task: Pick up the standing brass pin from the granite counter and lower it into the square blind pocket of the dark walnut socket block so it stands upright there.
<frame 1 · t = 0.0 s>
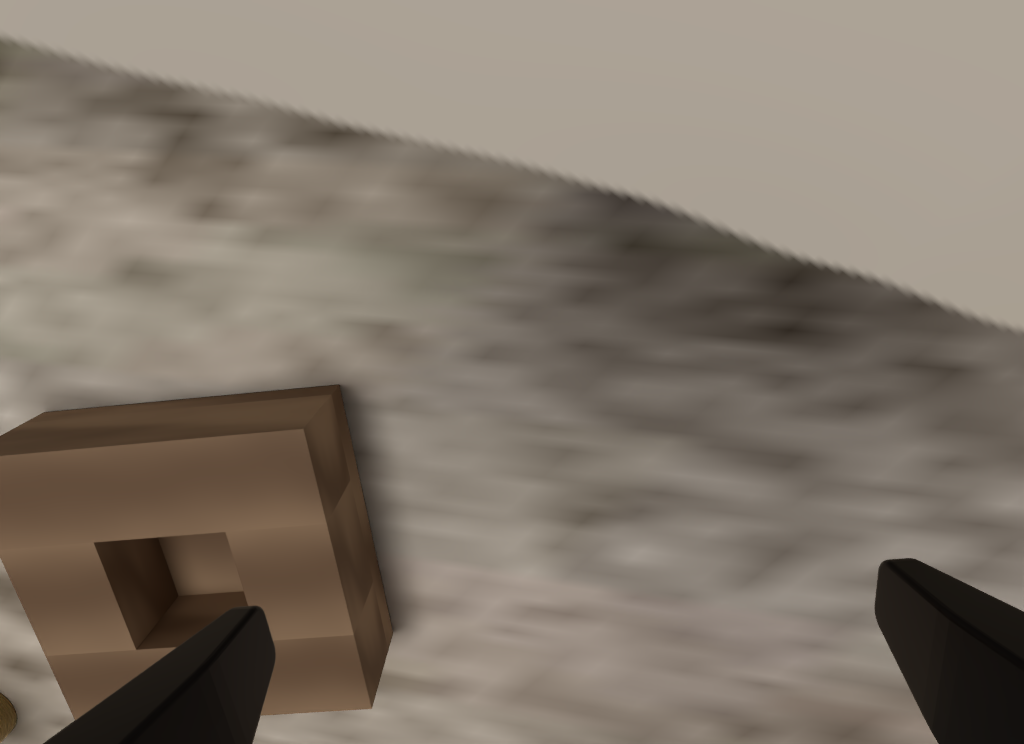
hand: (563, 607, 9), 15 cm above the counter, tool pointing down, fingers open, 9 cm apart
walnut socket block: (229, 529, 26), on the counter
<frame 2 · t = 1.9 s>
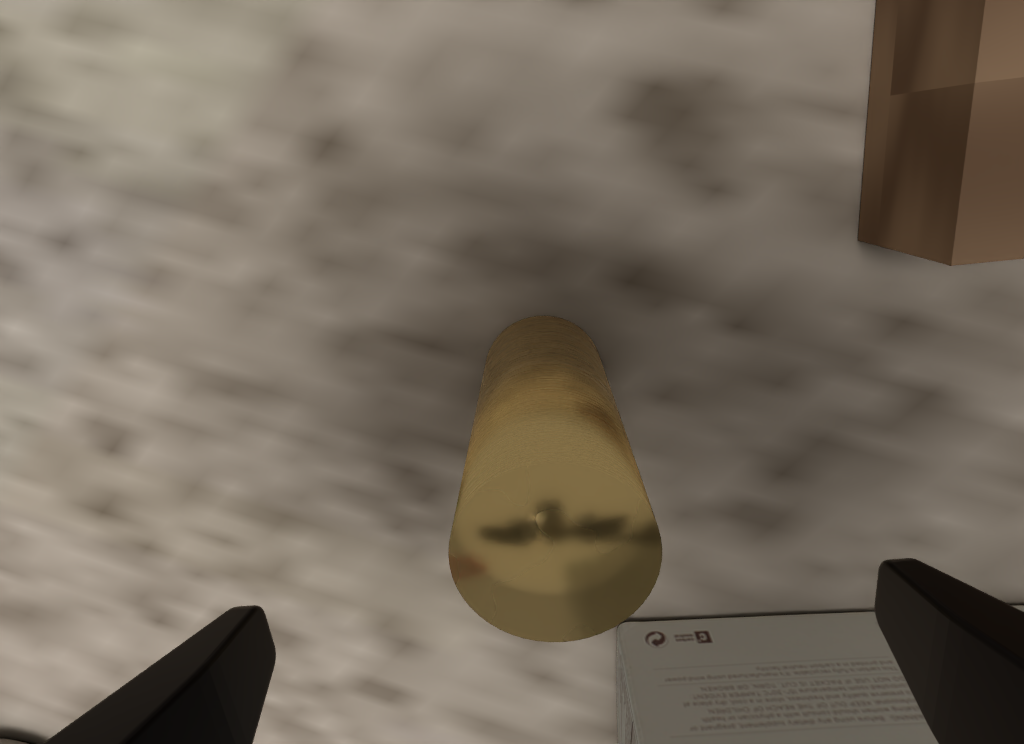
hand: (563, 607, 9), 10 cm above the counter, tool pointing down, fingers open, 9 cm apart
brass pin: (542, 372, 19), on the counter
supplement box: (842, 737, 24), on the counter
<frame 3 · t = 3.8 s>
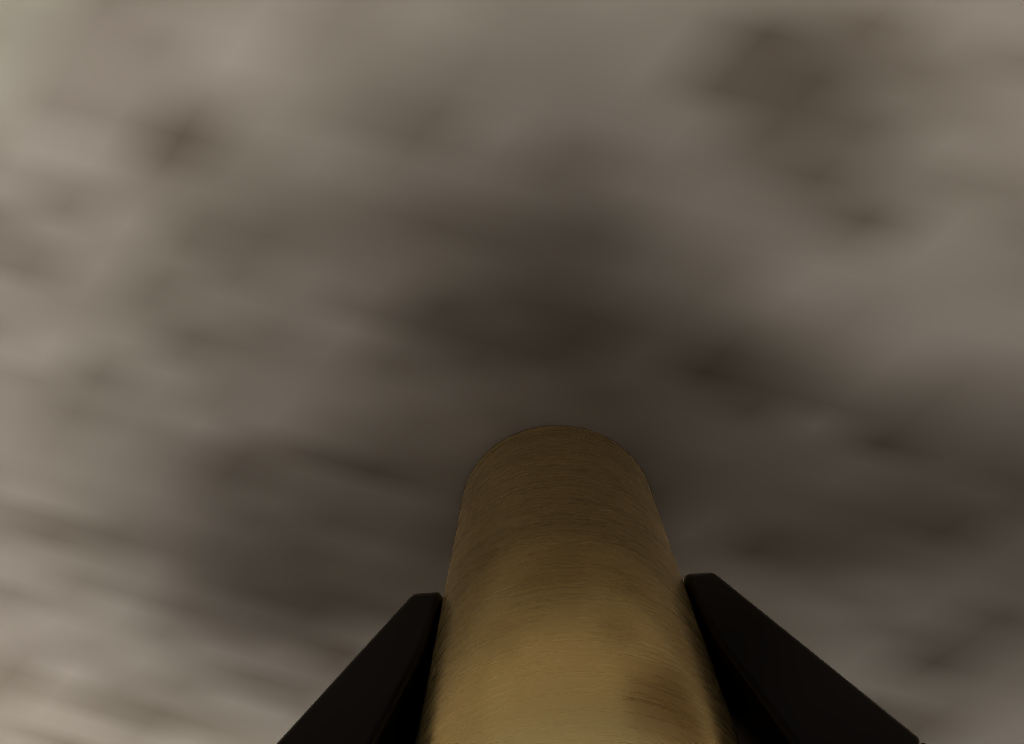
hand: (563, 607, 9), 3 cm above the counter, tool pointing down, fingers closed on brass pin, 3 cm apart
brass pin: (556, 511, 11), on the counter, touching gripper
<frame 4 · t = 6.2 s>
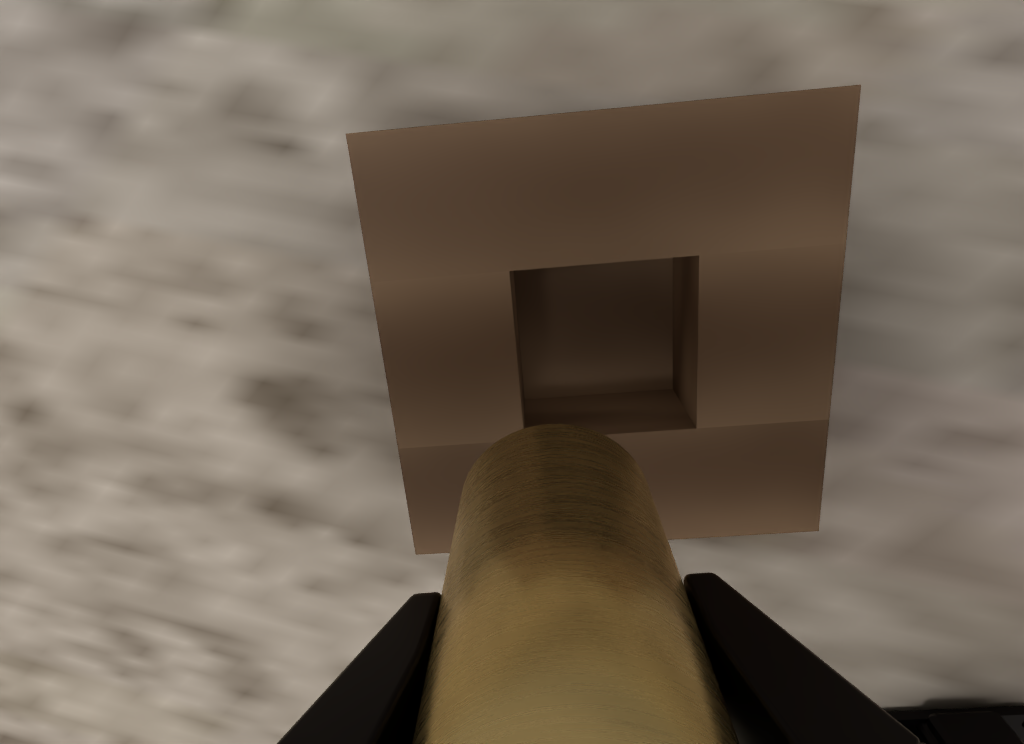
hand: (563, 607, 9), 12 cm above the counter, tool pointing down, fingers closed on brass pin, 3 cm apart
brass pin: (555, 510, 11), point 10 cm above the counter, touching gripper
walnut socket block: (592, 314, 20), on the counter
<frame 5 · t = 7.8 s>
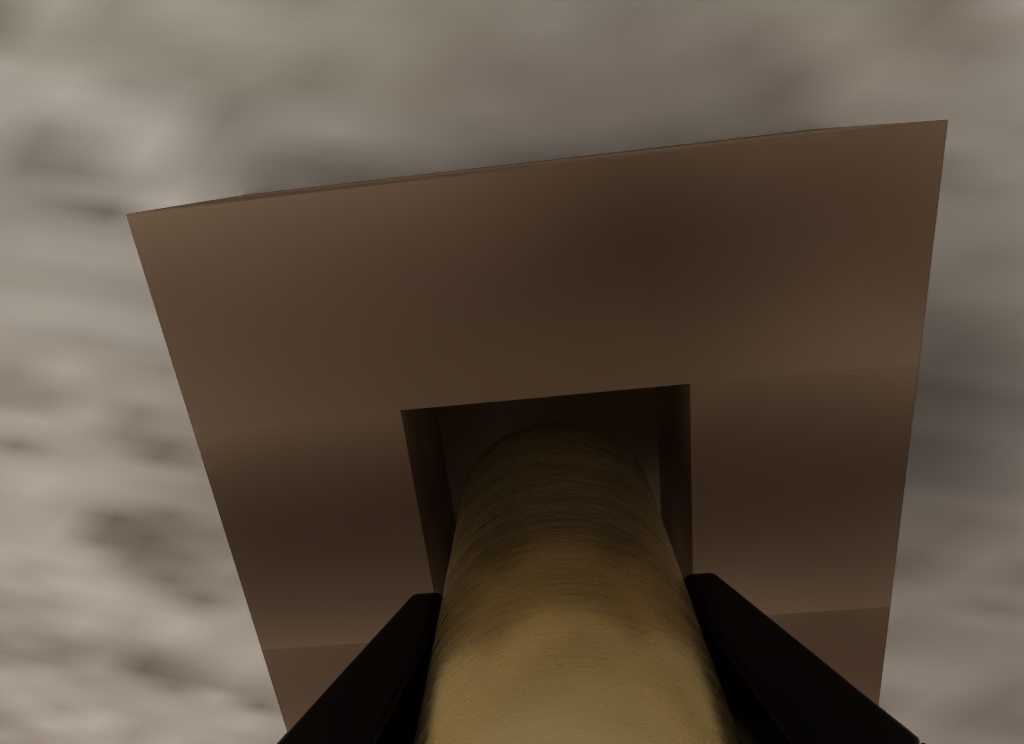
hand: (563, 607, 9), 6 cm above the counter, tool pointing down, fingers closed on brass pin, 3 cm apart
brass pin: (556, 509, 11), point 4 cm above the counter, touching gripper
walnut socket block: (548, 426, 15), on the counter
when the fingers open (5 cm above the counter, at t = 9.0 s): brass pin drops 1 cm, resting on walnut socket block.
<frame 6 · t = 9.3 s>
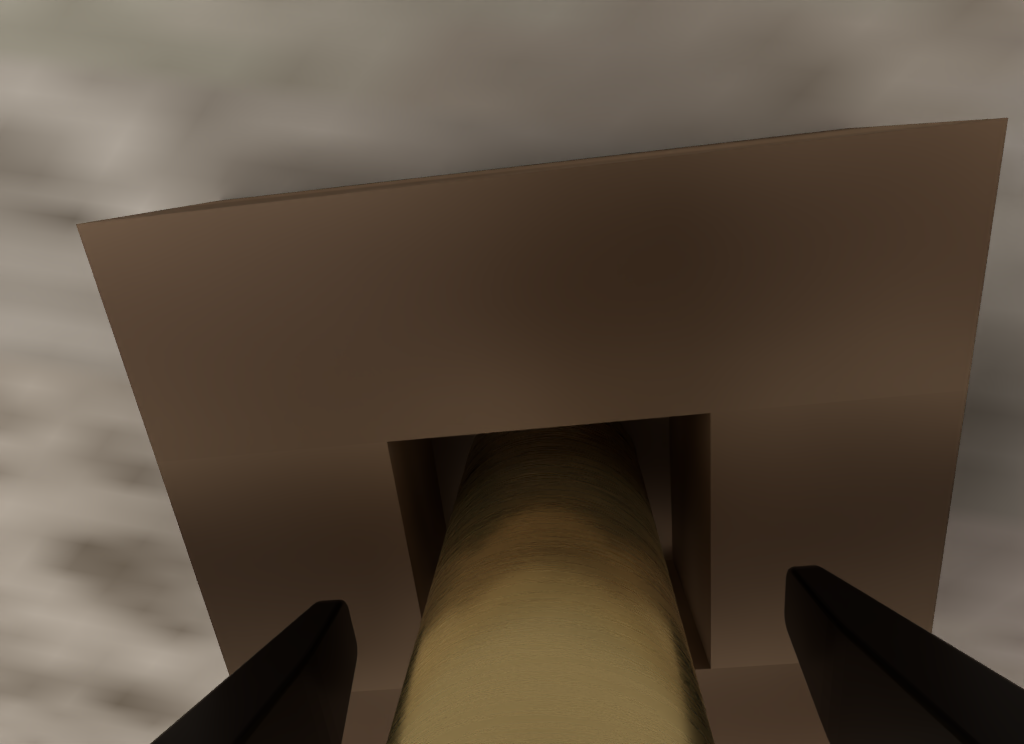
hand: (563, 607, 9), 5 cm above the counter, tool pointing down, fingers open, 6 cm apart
brass pin: (552, 471, 13), point 1 cm above the counter, touching walnut socket block
walnut socket block: (551, 449, 14), on the counter
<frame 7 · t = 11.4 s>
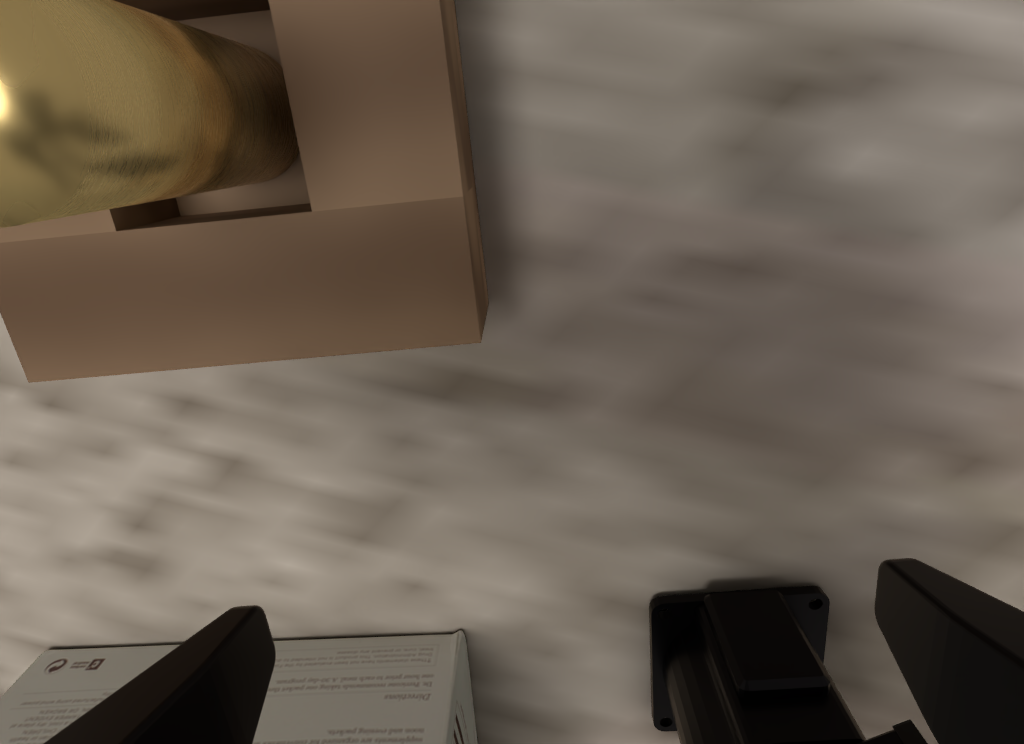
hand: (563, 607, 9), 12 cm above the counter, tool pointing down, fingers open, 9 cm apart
brass pin: (240, 115, 17), point 1 cm above the counter, touching walnut socket block
walnut socket block: (256, 117, 18), on the counter
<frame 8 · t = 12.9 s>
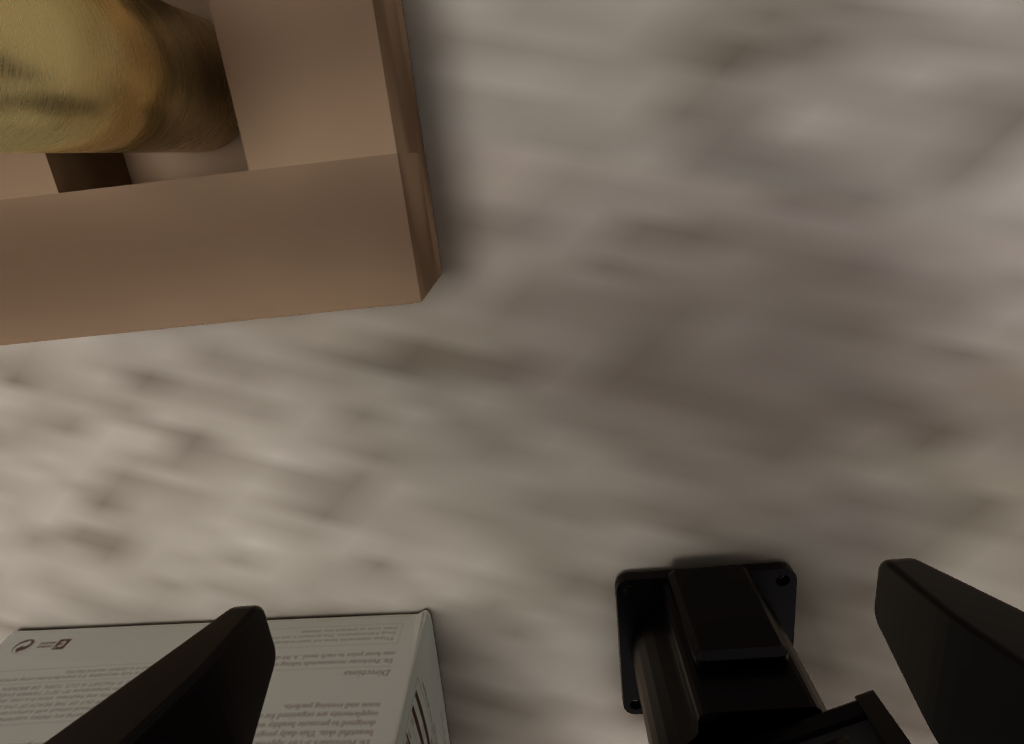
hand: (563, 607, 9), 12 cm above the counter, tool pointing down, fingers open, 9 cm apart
brass pin: (188, 84, 17), point 1 cm above the counter, touching walnut socket block
supplement box: (256, 731, 27), on the counter
walnut socket block: (207, 89, 18), on the counter
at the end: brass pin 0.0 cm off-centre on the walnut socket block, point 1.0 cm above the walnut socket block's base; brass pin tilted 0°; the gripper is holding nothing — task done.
